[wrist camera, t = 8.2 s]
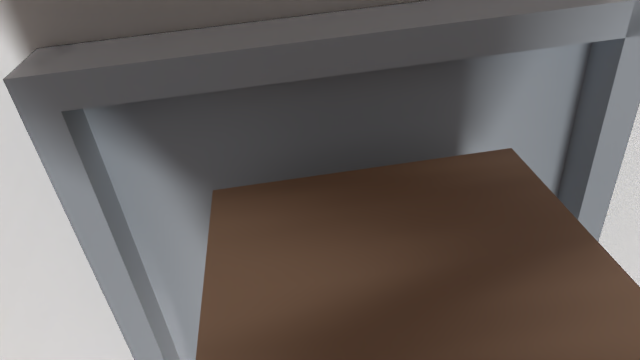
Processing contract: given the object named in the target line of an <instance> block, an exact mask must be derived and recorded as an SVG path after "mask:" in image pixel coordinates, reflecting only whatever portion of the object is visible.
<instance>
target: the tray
mask: <svg viewBox="0 0 640 360" xmlns="http://www.w3.org/2000/svg"><path fill="white" fill-rule="evenodd" d="M3 81H4V83H5V85H6V87H7V89H8V91H9V93H10V95H11V98H12V100H13V102H14V104H15V106H16V108H17V110H18V113H19V115H20V117H21V119H22V121H23V123H24V125H25V127H26V130H27V132H28V134H29V136H30V138H31V140H32V142H33V145H34V147H35V149H36V151H37V153H38V155H39V157H40V159H41V162H42V164H43V166H44V168H45V170H46V172H47V174H48V177H49V179H50V181H51V183H52V185H53V187H54V189H55V191H56V194H57V196H58V198H59V200H60V202H61V204H62V206H63V209H64V211H65V213H66V215H67V217H68V219H69V221H70V223H71V226H72V228H73V230H74V232H75V234H76V236H77V238H78V241H79V243H80V245H81V247H82V249H83V251H84V253H85V255H86V258H87V260H88V262H89V264H90V266H91V268H92V270H93V273H94V275H95V277H96V279H97V281H98V283H99V285H100V287H101V290H102V292H103V294H104V296H105V298H106V300H107V302H108V305H109V307H110V309H111V311H112V313H113V315H114V317H115V319H116V322H117V324H118V326H119V328H120V330H121V332H122V334H123V337H124V339H125V341H126V343H127V345H128V347H129V349H130V351H131V354H132V356H133V358H134V360H196V351H197V341H198V331H199V322H200V312H201V302H202V292H203V282H204V272H205V262H206V253H207V243H208V233H209V223H210V213H211V203H212V193H213V190H218V189H225V188H232V187H239V186H246V185H253V184H260V183H267V182H274V181H282V180H289V179H296V178H303V177H310V176H317V175H324V174H331V173H338V172H345V171H352V170H359V169H366V168H373V167H380V166H387V165H394V164H402V163H409V162H416V161H423V160H430V159H437V158H444V157H451V156H458V155H465V154H472V153H479V152H486V151H493V150H500V149H507V148H512V149H513V150H514V151H515V152H516V153H517V154H518V156H519V157H520V158H521V159H522V160H523V161H524V162H525V163H526V164H527V165H528V166H529V167H530V169H531V170H532V171H533V172H534V173H535V174H536V175H537V176H538V177H539V178H540V179H541V181H542V182H543V183H544V184H545V185H546V186H547V187H548V188H549V189H550V190H551V191H552V192H553V194H554V195H555V196H556V197H557V198H558V199H559V200H560V201H561V202H562V203H563V204H564V206H565V207H566V208H567V209H568V210H569V211H570V212H571V213H572V214H573V215H574V216H575V217H576V219H577V220H578V221H579V222H580V223H581V224H582V225H583V226H584V227H585V228H586V229H587V231H588V232H589V233H590V234H591V235H592V236H593V237H594V238H595V239H596V240H597V241H599V237H600V234H601V231H602V227H603V224H604V221H605V217H606V214H607V211H608V207H609V204H610V200H611V197H612V194H613V190H614V187H615V184H616V180H617V177H618V174H619V170H620V167H621V164H622V160H623V157H624V154H625V150H626V147H627V143H628V140H629V137H630V133H631V130H632V127H633V123H634V120H635V117H636V113H637V110H638V107H639V103H640V0H428V1H420V2H411V3H403V4H395V5H387V6H379V7H371V8H363V9H354V10H346V11H338V12H330V13H322V14H314V15H306V16H297V17H289V18H281V19H273V20H265V21H257V22H249V23H240V24H232V25H224V26H216V27H208V28H200V29H192V30H183V31H175V32H167V33H159V34H151V35H143V36H135V37H126V38H118V39H110V40H102V41H94V42H86V43H77V44H69V45H61V46H53V47H45V48H37V49H36V50H35V51H34V52H33V53H32V54H30V55H29V56H28V57H27V58H26V59H25V60H24V61H23V62H22V63H21V64H19V65H18V66H17V67H16V68H15V69H14V70H13V71H12V72H11V73H10V74H8V75H7V76H6V77H5V78H4V79H3Z"/></svg>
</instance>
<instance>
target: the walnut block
mask: <svg viewBox="0 0 640 360" xmlns="http://www.w3.org/2000/svg"><path fill="white" fill-rule="evenodd" d="M196 360H640V287H639V286H638V285H637V284H636V283H635V282H634V281H633V279H632V278H631V277H630V276H629V275H628V274H627V273H626V272H625V271H624V270H623V269H622V267H621V266H620V265H619V264H618V263H617V262H616V261H615V260H614V259H613V258H612V257H611V256H610V254H609V253H608V252H607V251H606V250H605V249H604V248H603V247H602V246H601V245H600V244H599V242H598V241H597V240H596V239H595V238H594V237H593V236H592V235H591V234H590V233H589V232H588V231H587V229H586V228H585V227H584V226H583V225H582V224H581V223H580V222H579V221H578V220H577V219H576V217H575V216H574V215H573V214H572V213H571V212H570V211H569V210H568V209H567V208H566V207H565V206H564V204H563V203H562V202H561V201H560V200H559V199H558V198H557V197H556V196H555V195H554V194H553V192H552V191H551V190H550V189H549V188H548V187H547V186H546V185H545V184H544V183H543V182H542V181H541V179H540V178H539V177H538V176H537V175H536V174H535V173H534V172H533V171H532V170H531V169H530V167H529V166H528V165H527V164H526V163H525V162H524V161H523V160H522V159H521V158H520V157H519V156H518V154H517V153H516V152H515V151H514V150H513V149H512V148H507V149H500V150H493V151H486V152H479V153H472V154H465V155H458V156H451V157H444V158H437V159H430V160H423V161H416V162H409V163H402V164H394V165H387V166H380V167H373V168H366V169H359V170H352V171H345V172H338V173H331V174H324V175H317V176H310V177H303V178H296V179H289V180H282V181H274V182H267V183H260V184H253V185H246V186H239V187H232V188H225V189H218V190H213V193H212V203H211V213H210V223H209V233H208V243H207V253H206V262H205V272H204V282H203V292H202V302H201V312H200V322H199V331H198V341H197V351H196Z"/></svg>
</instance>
